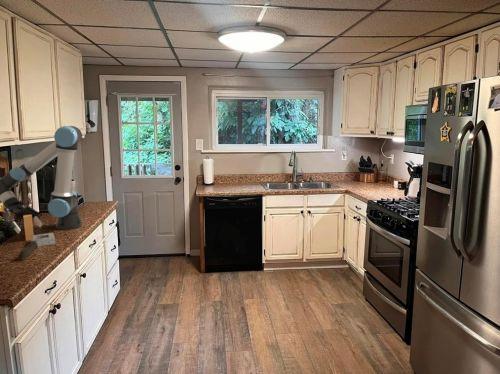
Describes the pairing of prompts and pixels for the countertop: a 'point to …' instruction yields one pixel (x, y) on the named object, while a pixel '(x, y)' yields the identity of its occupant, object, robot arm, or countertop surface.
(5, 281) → the countertop surface
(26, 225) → the orange rectangular block
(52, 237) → the square frame
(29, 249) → the hand tool
